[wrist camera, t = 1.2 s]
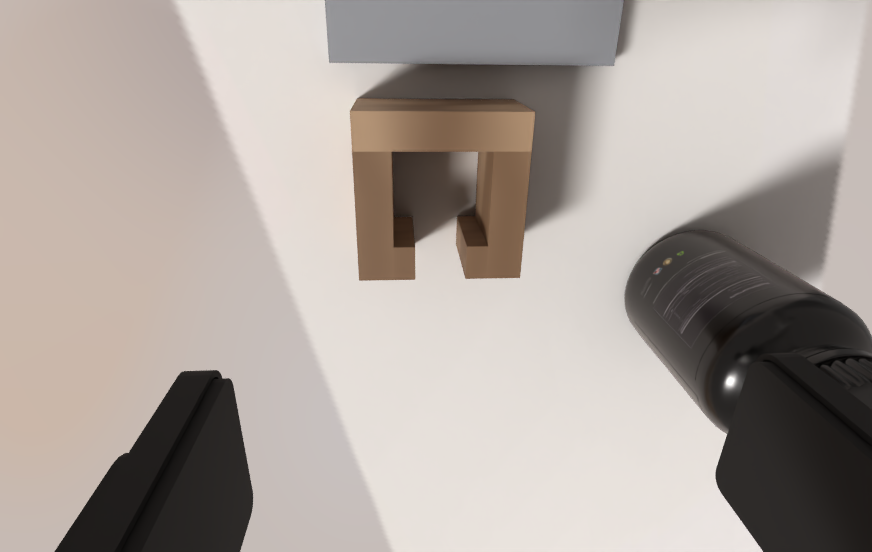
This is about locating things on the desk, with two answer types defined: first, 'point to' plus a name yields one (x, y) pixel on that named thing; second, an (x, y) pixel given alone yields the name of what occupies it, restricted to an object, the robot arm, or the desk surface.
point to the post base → (474, 31)
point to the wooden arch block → (442, 132)
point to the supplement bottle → (738, 320)
